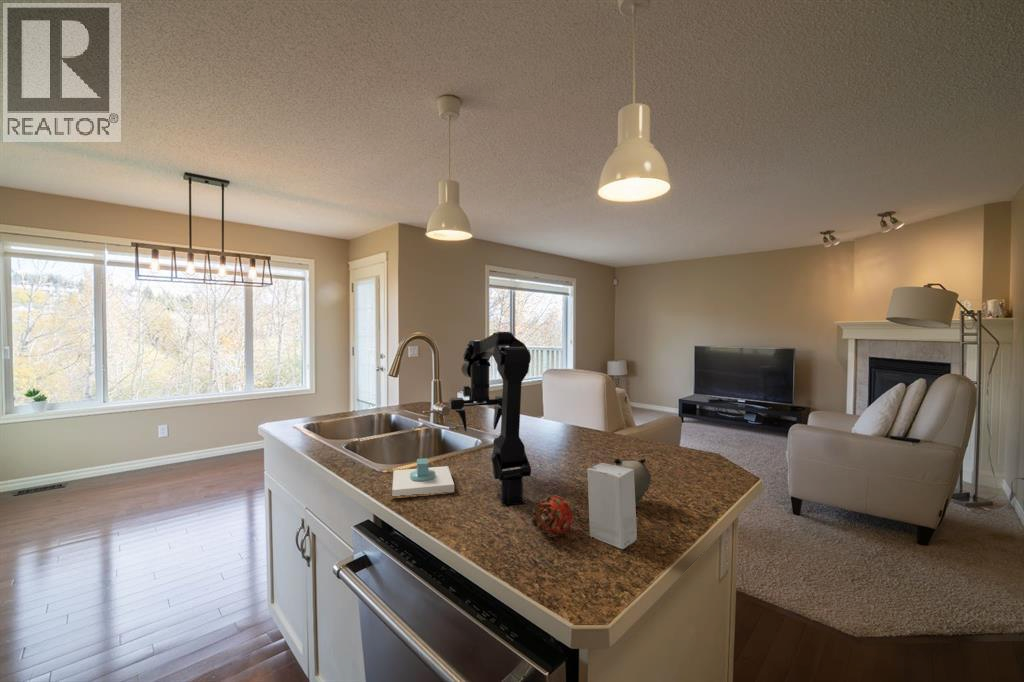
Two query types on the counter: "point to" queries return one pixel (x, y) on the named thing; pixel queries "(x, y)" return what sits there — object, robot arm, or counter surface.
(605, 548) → the counter surface
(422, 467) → the cap
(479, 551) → the counter surface
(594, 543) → the counter surface
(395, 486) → the white slab
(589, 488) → the skincare box
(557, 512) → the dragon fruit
